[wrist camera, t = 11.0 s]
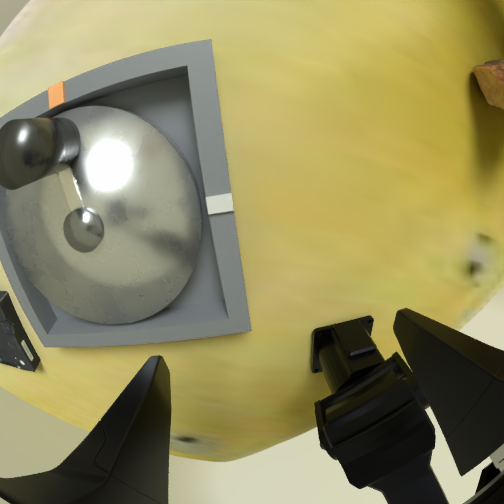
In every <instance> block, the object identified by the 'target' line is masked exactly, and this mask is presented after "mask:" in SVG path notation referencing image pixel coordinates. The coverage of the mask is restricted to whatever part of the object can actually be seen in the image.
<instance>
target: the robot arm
mask: <svg viewBox="0 0 504 504" xmlns="http://www.w3.org/2000/svg"><path fill="white" fill-rule="evenodd" d="M373 322H374V319H373V318H372V316H365V317H361V318H358V319H354V320H350V321H346V322H342V323H338V324H334V325H329V326H325V327H321V328H317V329H315V330H314V331H313V337H312V360H311V370H312V372H313V373H318V372H322V371H323V373H324V376H325V378H326V380H327V383H328V385H329V388H330V390H331V393H332V395H330V396H328V397H326V398H324V399H323V400H321V401H320V400H319V401H317V402H315V403H314V404H315V415H316V421H317V428H318V434H319V440H320V447H321V448H322V449H324V450H326V451H327V453H328V454H329V455H330V456H331V457H332V458H333V459H334V460H338V461H339V462H340V464H341V466H342V468H343V470H344V472H345V474H346V476H347V479H348V481H349V483H350V484H352V485H353V486H355V487H357V488H358V489H362V488H364V487H366V486H368V487H371V488H373V489H375V490H378V491H380V492H382V494H383V495H384V497H385V499H386V501H387V503H388V504H449V502H448V500H447V498H446V496H445V493H444V491H443V489H442V487H441V485H440V483H439V481H438V479H437V477H436V475H435V473H434V471H433V469H432V467H431V465H430V461H431V456H432V450H433V449H434V448H435V437H436V436H435V428H434V426H433V424H432V422H431V420H430V418H429V416H428V415H427V413H426V411H425V409H427V408H428V407H429V406H430V407H431V409H432V411H433V413H434V415H435V417H436V419H437V421H438V424H439V426H440V428H441V430H442V432H443V434H444V437H445V438H446V442H447V444H448V446H449V449H450V451H451V453H452V456H453V458H454V461H455V463H456V466H457V468H458V471H459V473H460V475H461V476H463V475H465V474H466V473H467V472H469V471H470V470H471V469H473V468H474V467H476V466H477V465H478V464H480V463H481V462H482V461H483V460H485V459H486V458H487V457H489V456H490V458H491V460H492V462H491V463H490V464H489V465H488V466H486V467H485V468H484V469H483V470H482V473H481V476H480V480H479V483H478V486H477V490H476V493H475V495H474V496H473V497H471V498H470V499H469V500H467V501H466V502H465V503H463V504H504V351H503V350H500V349H497V348H494V347H492V346H490V345H487V344H485V343H483V342H481V341H478V340H476V339H474V338H472V337H470V336H468V335H465V334H463V333H461V332H459V331H457V330H455V329H452V328H450V327H448V326H446V325H443V324H441V323H439V322H437V321H435V320H432V319H430V318H428V317H426V316H424V315H421V314H419V313H417V312H415V311H412V310H410V309H408V308H404V309H401V310H398V311H397V313H396V317H395V321H394V325H393V330H394V333H395V335H396V337H397V340H398V342H399V344H400V347H401V349H402V351H403V354H404V356H405V358H406V361H407V362H408V364H409V366H410V368H411V370H412V371H411V370H410V368H409V367H408V366H407V364H406V363H405V362H404V360H403V359H402V358H401V356H400V355H399V354H398V352H395V353H394V354H392V356H391V357H390V358H388V359H387V360H386V361H385V360H384V358H383V356H382V355H381V353H380V352H379V350H378V349H377V346H376V344H375V343H374V341H373V340H372V338H371V337H370V336H371V332H372V327H373ZM317 333H318V334H317ZM170 426H171V389H170V372H169V369H168V367H167V365H166V363H165V361H164V359H163V357H162V356H160V355H159V356H151V357H150V358H149V359H148V360H147V361H146V363H145V364H144V365H143V366H142V368H141V369H140V370H139V371H138V373H137V374H136V375H135V377H134V378H133V379H132V380H131V382H130V383H129V384H128V385H127V387H126V388H125V389H124V390H123V392H122V393H121V394H120V395H119V397H118V398H117V399H116V400H115V402H114V403H113V404H112V406H111V407H110V408H109V409H108V411H107V412H106V413H105V414H104V416H103V417H102V418H101V421H99V422H98V423H97V425H96V426H95V427H94V428H93V430H92V431H91V432H90V433H89V435H88V436H87V437H86V438H85V439H84V440H83V441H82V442H81V443H80V445H78V447H77V448H76V449H75V450H74V451H73V452H72V453H71V454H70V455H69V456H68V457H67V458H66V459H65V460H64V461H63V462H62V463H61V464H60V465H59V466H57V467H56V468H54V469H52V470H50V471H47V472H42V473H38V474H33V475H28V476H22V477H15V478H0V497H1V498H2V499H4V500H6V501H7V502H9V503H10V504H168V473H169V444H170Z"/></svg>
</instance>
